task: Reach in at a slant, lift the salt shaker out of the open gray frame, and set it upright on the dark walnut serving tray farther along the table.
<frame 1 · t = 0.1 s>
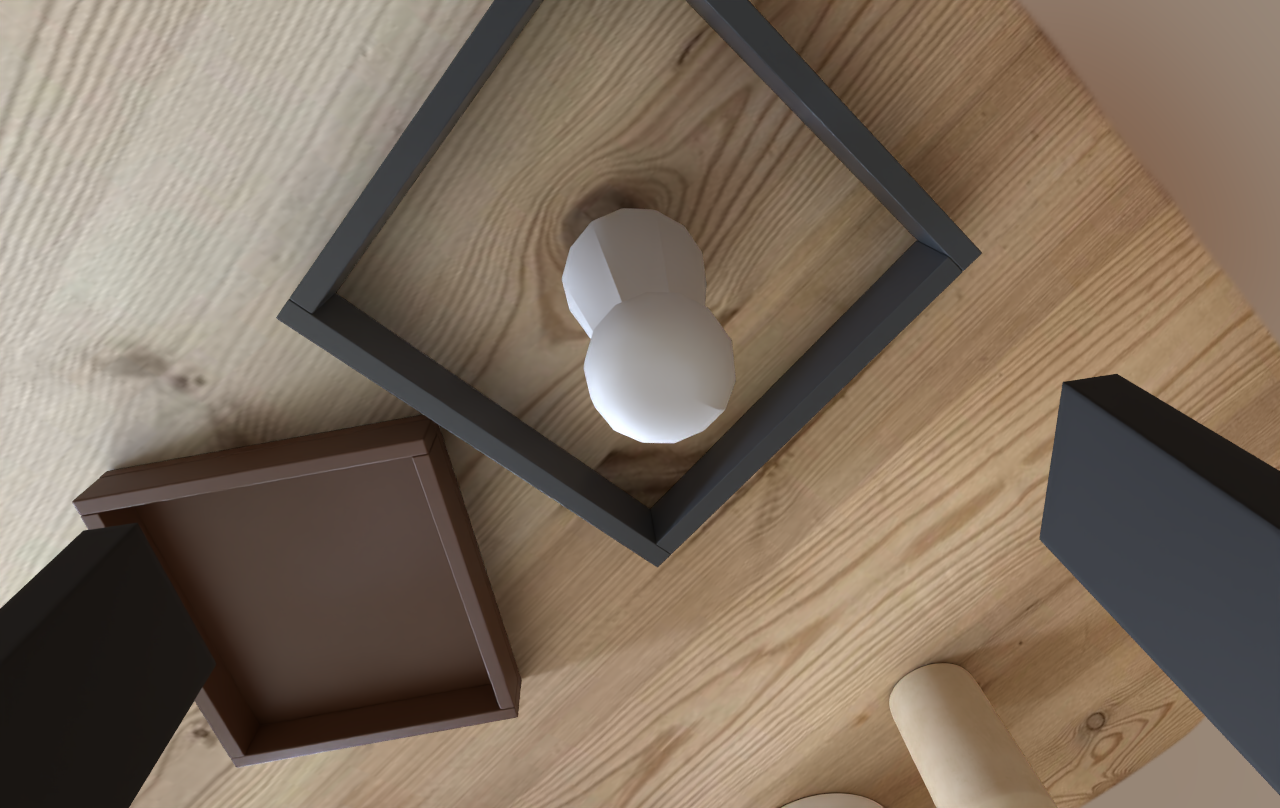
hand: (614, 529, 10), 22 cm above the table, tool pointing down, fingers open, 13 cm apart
candle: (929, 691, 44), on the table
open gray frame: (631, 265, 31), on the table
tray: (335, 586, 37), on the table
salt shaker: (630, 264, 31), resting in open gray frame
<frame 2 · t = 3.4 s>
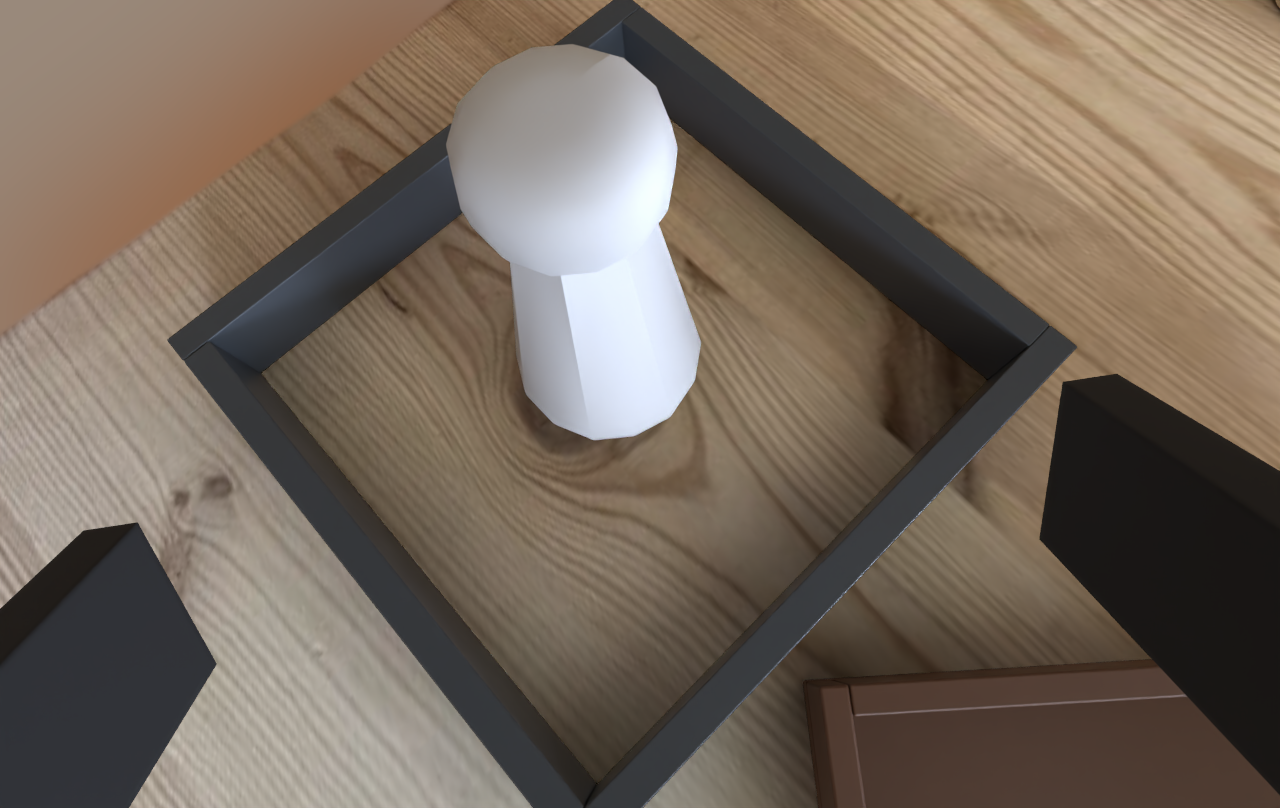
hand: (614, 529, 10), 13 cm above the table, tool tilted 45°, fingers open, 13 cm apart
open gray frame: (614, 376, 25), on the table
salt shaker: (614, 378, 25), resting in open gray frame
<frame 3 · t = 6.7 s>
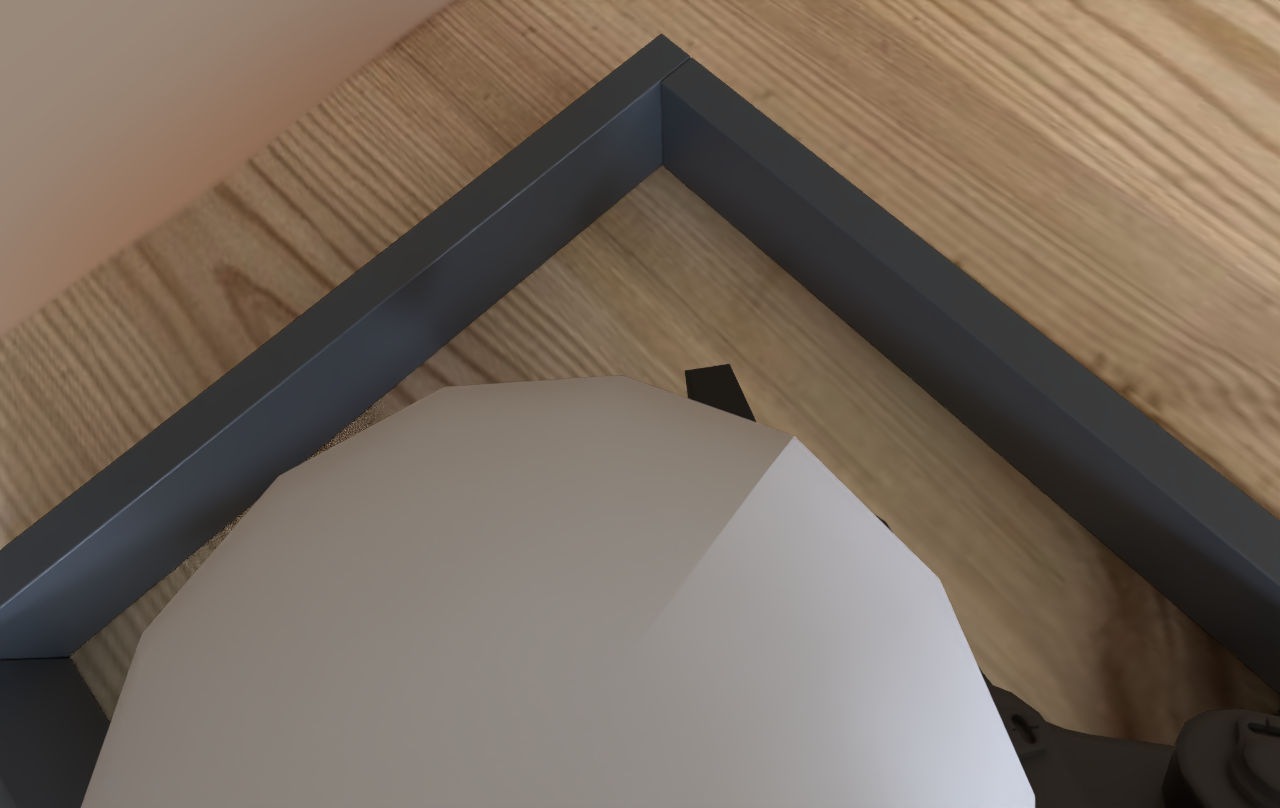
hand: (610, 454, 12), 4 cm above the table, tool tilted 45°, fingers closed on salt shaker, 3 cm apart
open gray frame: (649, 676, 15), on the table
salt shaker: (649, 677, 15), resting in open gray frame, touching gripper
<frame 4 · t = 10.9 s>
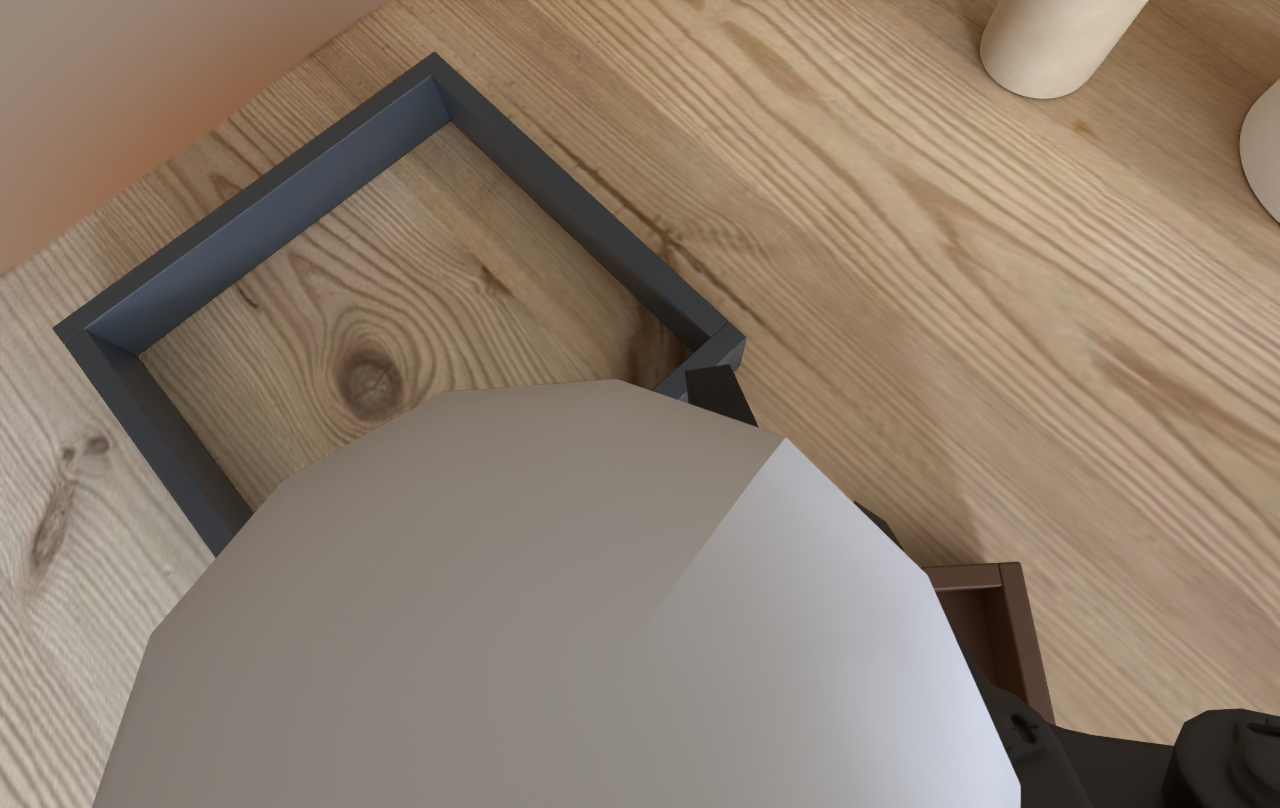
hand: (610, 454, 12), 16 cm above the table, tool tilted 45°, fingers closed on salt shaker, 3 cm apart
candle: (1033, 58, 35), on the table
open gray frame: (416, 360, 31), on the table
tray: (783, 807, 25), on the table
salt shaker: (648, 676, 15), point 12 cm above the table, touching gripper
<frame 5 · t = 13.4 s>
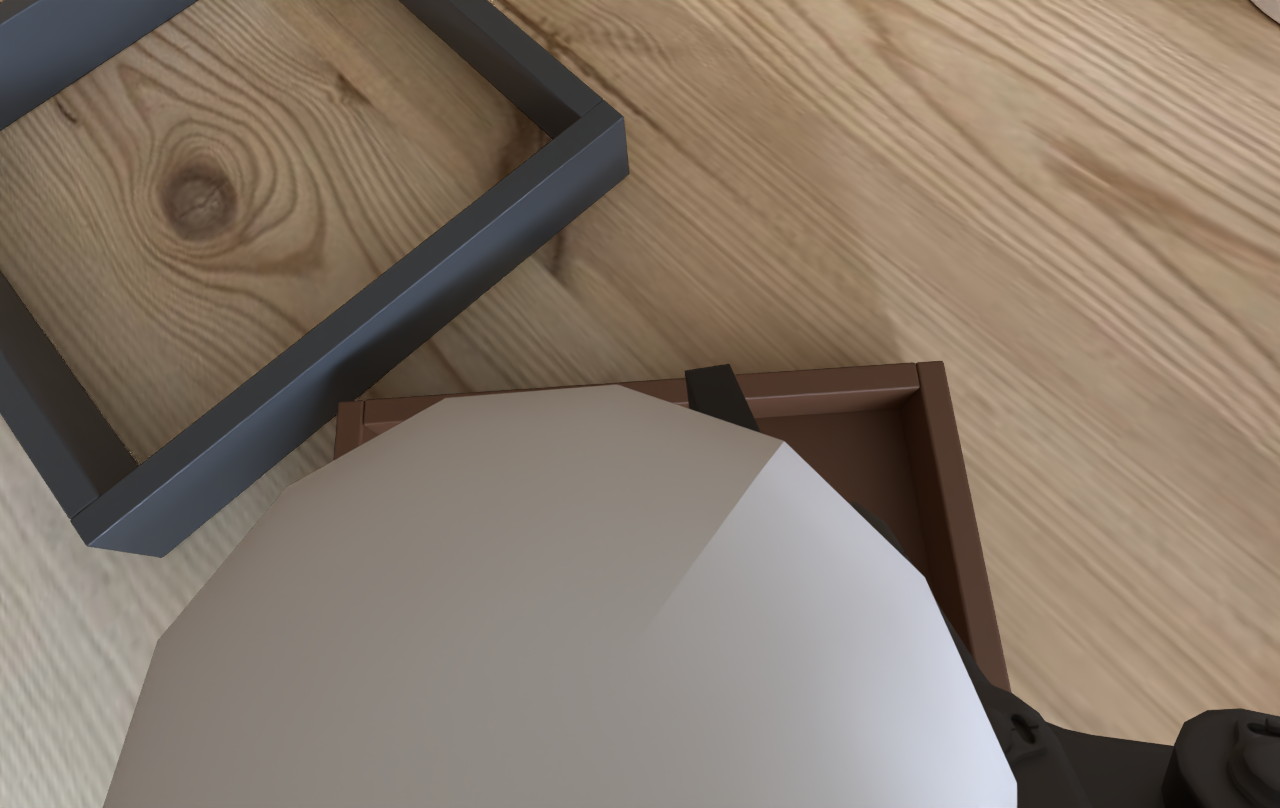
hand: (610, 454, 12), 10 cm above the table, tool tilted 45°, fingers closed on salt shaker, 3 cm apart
open gray frame: (253, 174, 26), on the table
tray: (656, 663, 20), on the table
salt shaker: (649, 677, 15), point 6 cm above the table, touching gripper
when the fingers open (5 cm above the table, at t = 15.0 s): salt shaker stays where it is, resting on tray.
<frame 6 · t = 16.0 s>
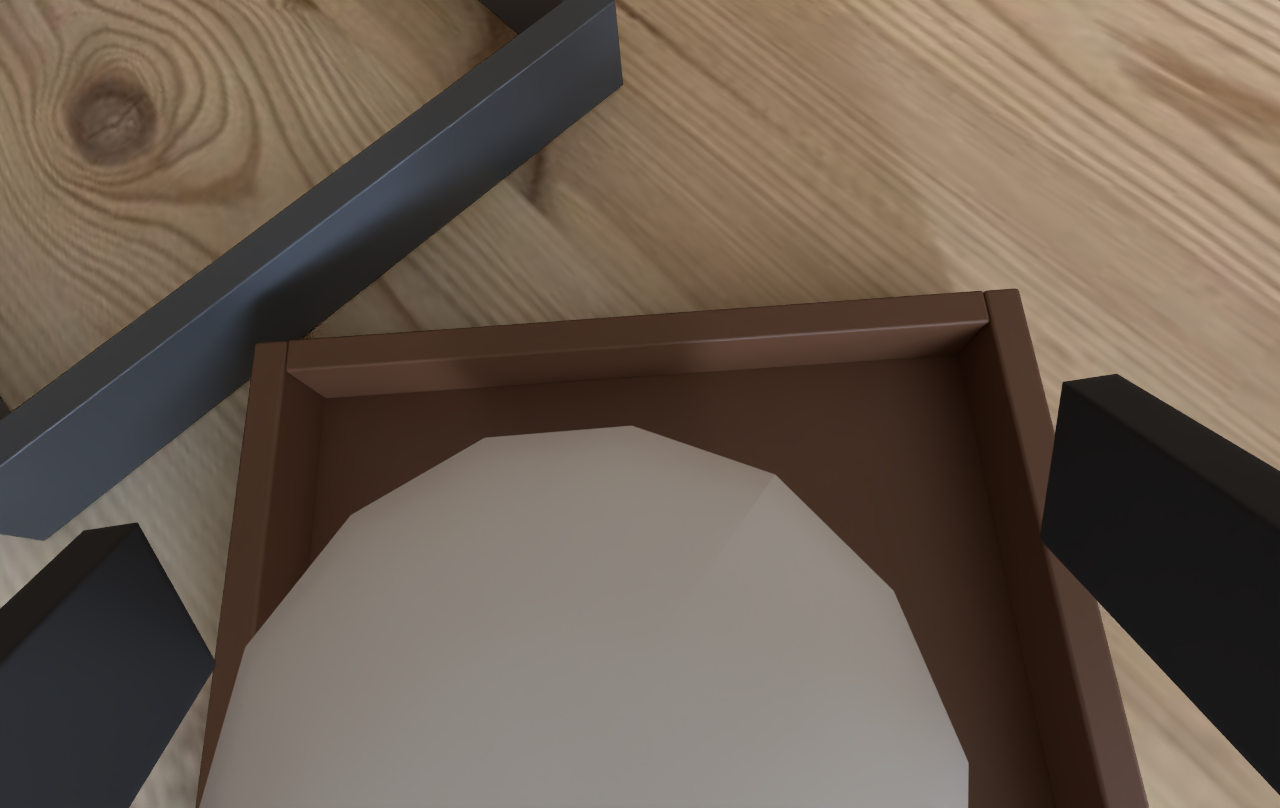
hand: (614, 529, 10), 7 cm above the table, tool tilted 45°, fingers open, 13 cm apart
open gray frame: (177, 89, 22), on the table
tray: (654, 672, 16), on the table
salt shaker: (652, 676, 16), resting on tray
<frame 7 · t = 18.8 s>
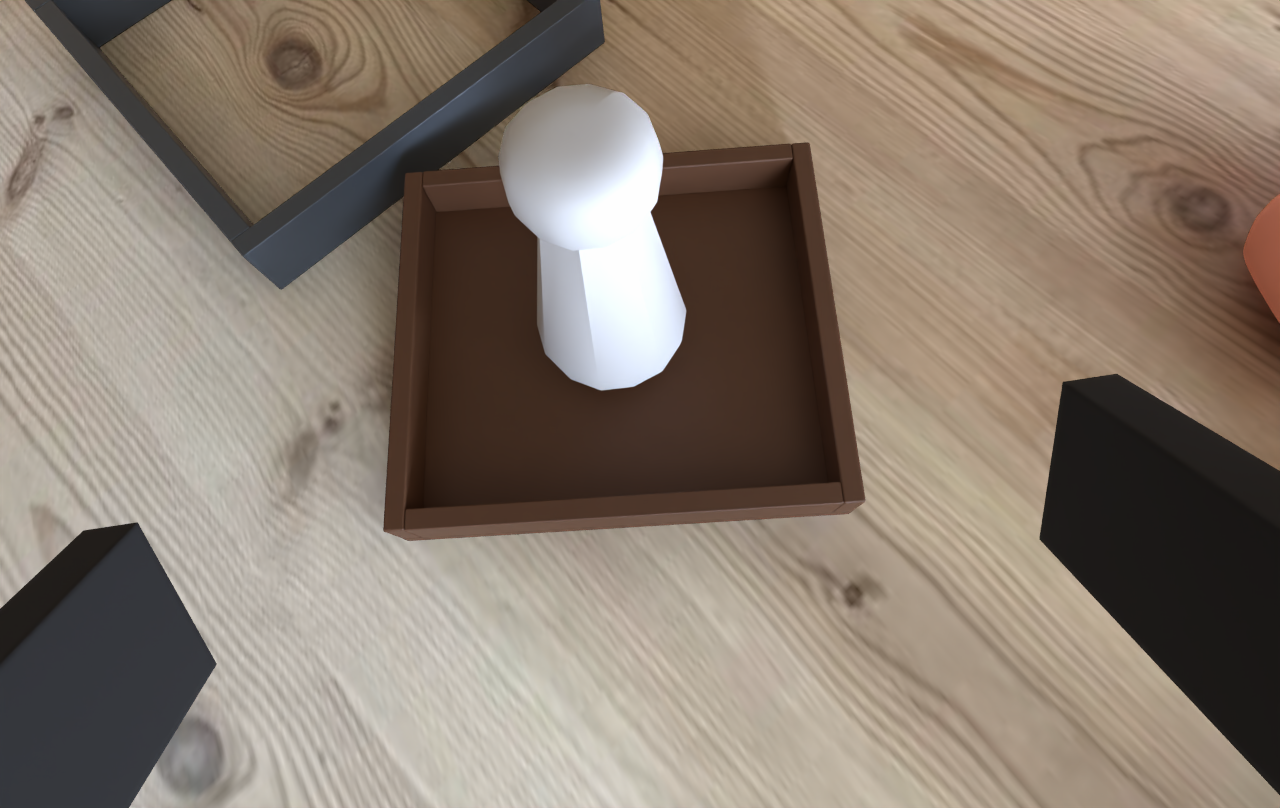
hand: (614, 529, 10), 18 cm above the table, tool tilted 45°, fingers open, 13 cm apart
open gray frame: (333, 45, 36), on the table
tray: (618, 346, 30), on the table
salt shaker: (616, 344, 30), resting on tray
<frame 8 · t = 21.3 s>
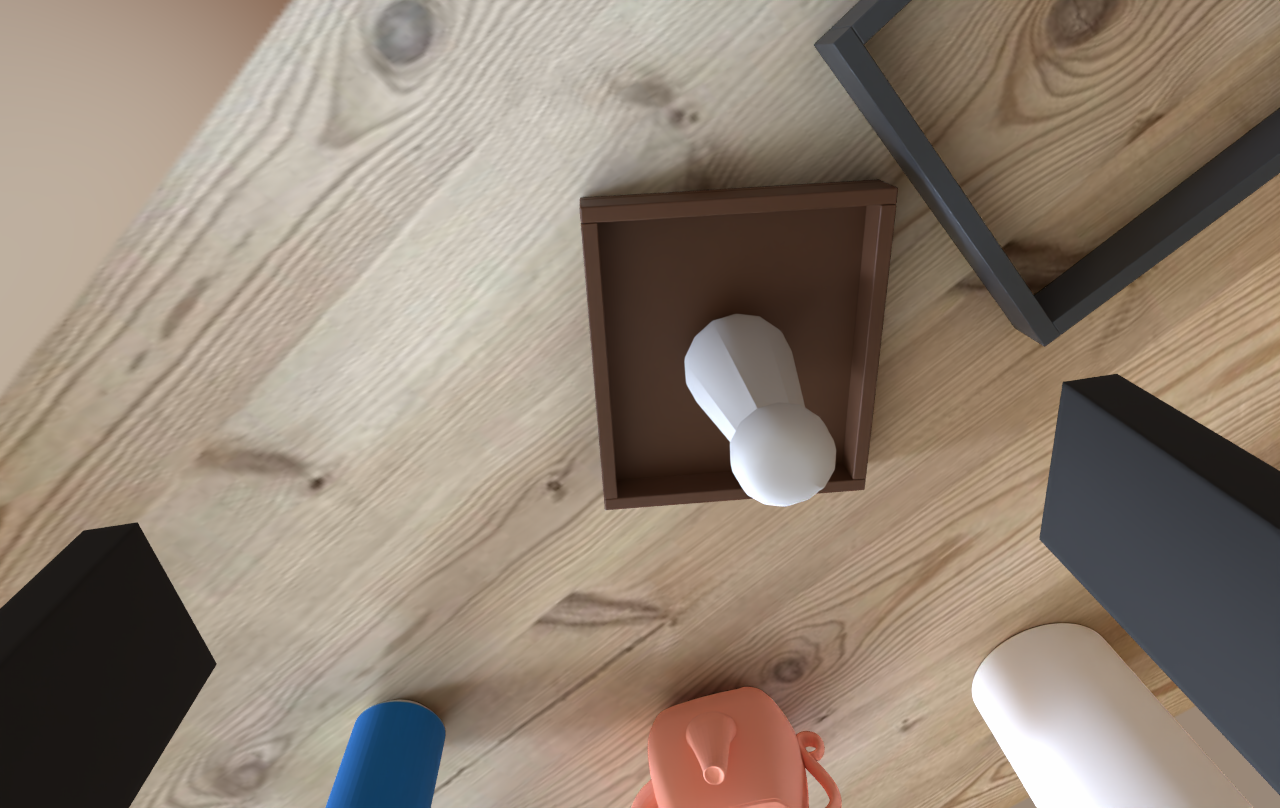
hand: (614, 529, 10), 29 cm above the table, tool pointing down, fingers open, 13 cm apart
beverage can: (403, 721, 52), on the table
teapot: (702, 730, 55), on the table
vase: (1038, 673, 54), on the table
open gray frame: (1093, 57, 35), on the table
tray: (729, 346, 40), on the table
salt shaker: (729, 348, 40), resting on tray
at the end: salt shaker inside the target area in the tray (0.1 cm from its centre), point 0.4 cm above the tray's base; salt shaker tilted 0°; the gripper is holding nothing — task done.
